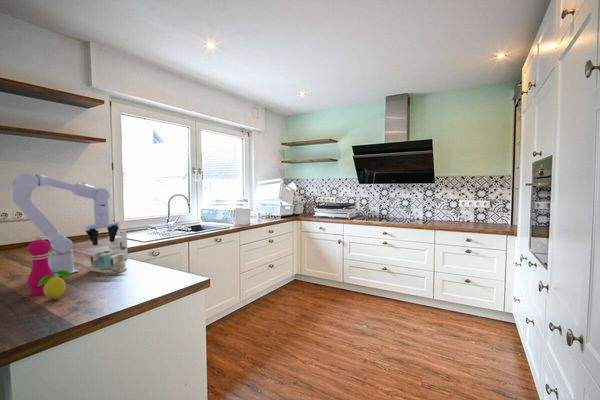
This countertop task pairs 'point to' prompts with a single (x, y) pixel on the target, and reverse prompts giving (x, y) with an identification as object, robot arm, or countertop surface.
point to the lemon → (54, 284)
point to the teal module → (104, 260)
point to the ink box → (119, 244)
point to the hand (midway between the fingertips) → (103, 243)
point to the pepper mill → (38, 264)
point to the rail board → (115, 260)
